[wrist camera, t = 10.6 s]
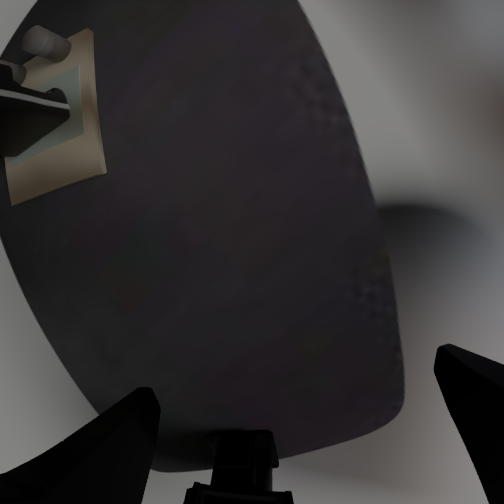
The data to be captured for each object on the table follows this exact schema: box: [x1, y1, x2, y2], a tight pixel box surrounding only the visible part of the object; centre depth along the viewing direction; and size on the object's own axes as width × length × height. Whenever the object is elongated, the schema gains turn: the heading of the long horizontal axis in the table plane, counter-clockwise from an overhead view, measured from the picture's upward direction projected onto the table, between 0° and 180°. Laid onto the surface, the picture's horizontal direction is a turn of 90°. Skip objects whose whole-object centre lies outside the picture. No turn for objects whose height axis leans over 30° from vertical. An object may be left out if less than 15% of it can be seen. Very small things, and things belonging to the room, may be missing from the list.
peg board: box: [0, 26, 107, 206], centre depth 16 cm, size 12×10×5 cm
